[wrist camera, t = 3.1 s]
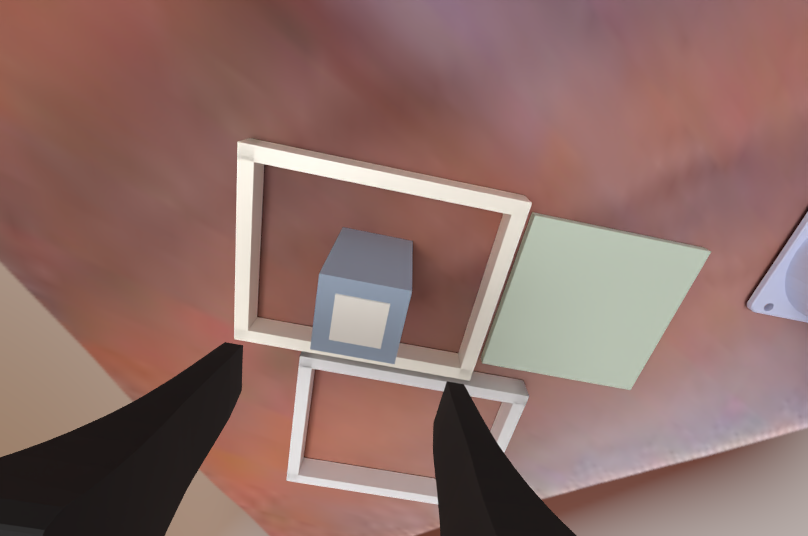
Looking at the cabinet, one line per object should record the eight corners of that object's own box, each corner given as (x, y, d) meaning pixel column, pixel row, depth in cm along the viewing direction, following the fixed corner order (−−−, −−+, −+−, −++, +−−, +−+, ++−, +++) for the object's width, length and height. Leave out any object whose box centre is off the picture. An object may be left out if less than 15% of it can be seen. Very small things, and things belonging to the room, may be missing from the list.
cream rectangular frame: (524, 195, 21) (532, 202, 19) (466, 365, 26) (469, 380, 24) (249, 137, 20) (237, 141, 19) (244, 325, 25) (234, 339, 23)
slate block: (412, 240, 22) (411, 292, 17) (398, 300, 24) (394, 365, 18) (342, 227, 22) (318, 274, 16) (334, 288, 24) (309, 350, 18)
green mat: (703, 247, 22) (711, 251, 21) (625, 383, 26) (630, 390, 25) (532, 212, 21) (535, 215, 21) (480, 357, 25) (482, 363, 25)
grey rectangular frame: (523, 380, 26) (529, 396, 25) (475, 492, 31) (478, 510, 30) (306, 341, 25) (299, 355, 24) (292, 462, 30) (286, 480, 29)
